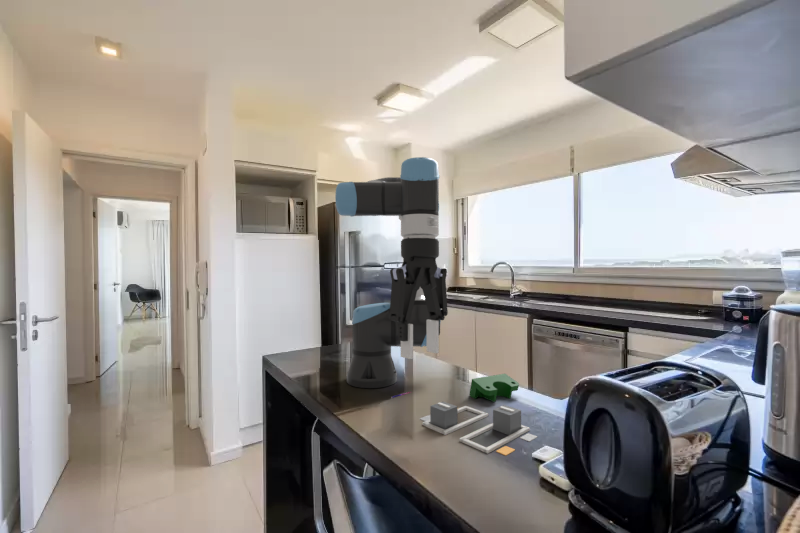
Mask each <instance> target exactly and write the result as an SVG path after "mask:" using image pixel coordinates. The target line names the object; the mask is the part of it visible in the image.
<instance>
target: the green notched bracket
mask: <svg viewBox="0 0 800 533" xmlns="http://www.w3.org/2000/svg"><path fill="white" fill-rule="evenodd" d="M519 386H520V384H519V381H516V380H515V379H514V378H513V377H511V376H509V375H508V374H507V373H501V374H496V375H495V374H494V375H487V376H482V377H481V376H480V377H476V378H471V383H470V387H469V388H470V389H469V397H471V398H472V399H478V397H479V398H485V399H486V400H488V401H491V402H493V403H494V402H495V403H496V402H497V401H496V400H497V397H505V398H507V399H511V398H512V394H513V392H515V391H516V392H517V391H518V390H519Z"/></svg>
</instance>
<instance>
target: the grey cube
mask: <svg viewBox="0 0 800 533" xmlns="http://www.w3.org/2000/svg"><path fill="white" fill-rule="evenodd" d="M492 423H493V428H492V430H494V431H496V432H499V433H501V434H505V435H507V436H509V435H511V434H513V433H515V432H517V431H519V430H520V429H521V425H522V410H521V409H518V408H515V407H511V406H509V405H505V404H503V405H501V406H499V407H496V408H493V409H492Z"/></svg>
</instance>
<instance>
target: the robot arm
mask: <svg viewBox="0 0 800 533" xmlns="http://www.w3.org/2000/svg"><path fill="white" fill-rule="evenodd" d="M400 165H401V167H400V175H399V177H396V176H394V177H392V176H389V177H382V178H377V179H376V178H375V179H373V180H372V179H371V180H369V181H361V182H360V181H349V182H348V181H347V182H339V183H338V184H337V185H336V187H335V188H336V189H335V207H336V212H337V213H338V215H339V216H342V217H344V216H345V217H346V216H348V217H368V216H370V217H371V216H372V217H375V216H378V217H379V216H382V217H383V216H386V217H391V216H393V217H398V219H399V220H400V236H401V237H403V238H402V239H401V240H400V257H401V258H402V259H403V261H402V265H401V266H400V267H397V268H395V267H394V268H391V269H390V270H389V274H390V279H391V286H390V287H391V288H390V290H391V291H390V302H378V303H371V304H365V305H360V306H358V307H356V308H354V309H353V311H352V322H351V324H352V357H351V361H350V363H349V367H348V371H347V372H346V383H347V384H348V385H349V386H352V387H355V388H362V389H378V388H386V387H390V386H392V385H394V384H396V383H397V381H398V373H397V372H398V371H397V370H396V366H395V364H394V360H393V358H392V347H400V358H405V359H408V360H413V359H414V347H418V348H419V347H420V348H423V347H426V352H428V353H432V354H439V352H440V351H439V350H440V348H439V347H440V346H439V343H440V339H439V338H440V337H439V336H440V334H441V322H442V321H444V320H445V318H446V316H447V315H448V314H449V312H448V310H449V309H448V296H447V281H446V280H447V274H448V269H447V268H443V267H442V268H441V267H438V263H437V261H436V260H437V258H439V256H440V240H438V238H437V237H438V236H439V235H440V234H439V231H440V229H439V217H440V216H439V215H440V214H439V213H440V212H439V210H440V201H439V197H440V196H439V189H440V188H439V185H440V184H439V183H440V174H439V173H440V172H439V163H438V162H437V161H436V160H435V159H434V158H431V157H424V156H422V157H411V158H407V159H405V160H404V161H403V162H402V163H401V164H400Z"/></svg>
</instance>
